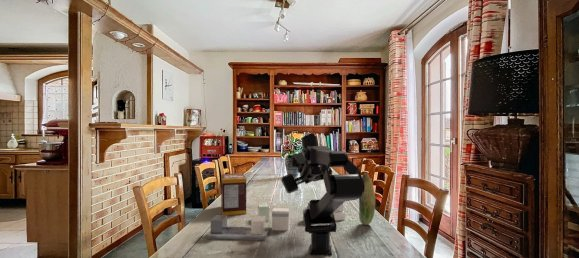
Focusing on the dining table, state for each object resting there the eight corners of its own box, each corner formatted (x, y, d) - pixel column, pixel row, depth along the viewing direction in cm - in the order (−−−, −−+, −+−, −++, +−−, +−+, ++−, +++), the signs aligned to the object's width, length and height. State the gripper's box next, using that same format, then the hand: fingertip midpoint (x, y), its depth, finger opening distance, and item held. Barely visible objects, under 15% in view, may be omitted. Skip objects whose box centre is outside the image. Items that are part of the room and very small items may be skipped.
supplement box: (242, 205, 142) (243, 173, 142) (246, 214, 127) (246, 178, 127) (221, 206, 140) (221, 173, 140) (222, 215, 125) (222, 179, 125)
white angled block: (318, 213, 120) (328, 194, 122) (337, 223, 123) (347, 204, 124) (321, 215, 117) (332, 196, 118) (341, 226, 119) (351, 207, 120)
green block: (269, 221, 117) (269, 206, 117) (259, 221, 117) (259, 206, 117) (267, 217, 122) (267, 203, 122) (258, 218, 121) (258, 203, 121)
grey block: (315, 223, 115) (315, 211, 115) (303, 222, 116) (303, 210, 116) (316, 220, 119) (317, 208, 119) (304, 219, 120) (304, 207, 120)
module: (288, 230, 107) (288, 211, 107) (271, 230, 107) (271, 211, 107) (289, 226, 111) (289, 208, 111) (273, 226, 111) (273, 208, 111)
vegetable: (375, 223, 115) (375, 172, 115) (375, 228, 109) (375, 175, 109) (359, 222, 117) (359, 172, 117) (358, 227, 111) (358, 174, 111)
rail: (265, 240, 97) (265, 222, 97) (206, 238, 98) (206, 221, 98) (268, 231, 105) (268, 215, 105) (214, 230, 106) (214, 214, 106)
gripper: (322, 140, 108) (313, 159, 121) (277, 157, 101) (272, 175, 114) (338, 165, 103) (327, 182, 116) (291, 185, 96) (285, 201, 109)
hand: (303, 184), depth 114 cm, fingers open, 9 cm apart
